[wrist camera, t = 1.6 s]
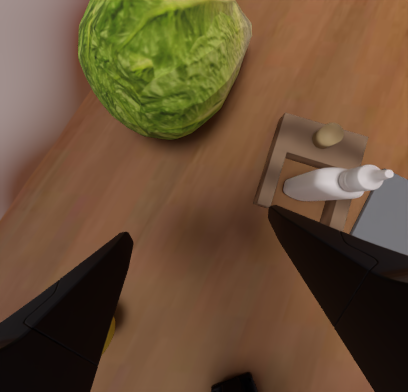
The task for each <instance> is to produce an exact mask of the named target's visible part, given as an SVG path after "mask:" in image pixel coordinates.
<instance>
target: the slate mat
mask: <svg viewBox="0 0 408 392" xmlns="http://www.w3.org/2000/svg"><path fill="white" fill-rule="evenodd" d="M382 170H387V169H382ZM350 235H352V236H355V237H357V238H360V239H362V240H365V241H368V242H371V243H373V244H376V245H379V246H382V247H385V248H388V249H391V250H393V251H396V252H399V253H402V254H405V255H408V180H407V179H405V178H403V177H401V176H399V175H397V174H395V173H394V175H393V177H392V178H389V179H386V180H384V181H383V183H382V185H381V186H380V187H379V188H378V189H375V190H371V192H370V194H369V196H368V198H367V200H366V202H365V204H364V206H363V208H362V210H361V212H360V214H359V216H358V218H357V220H356V222H355V224H354V226H353V228H352V230H351V232H350Z"/></svg>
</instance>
